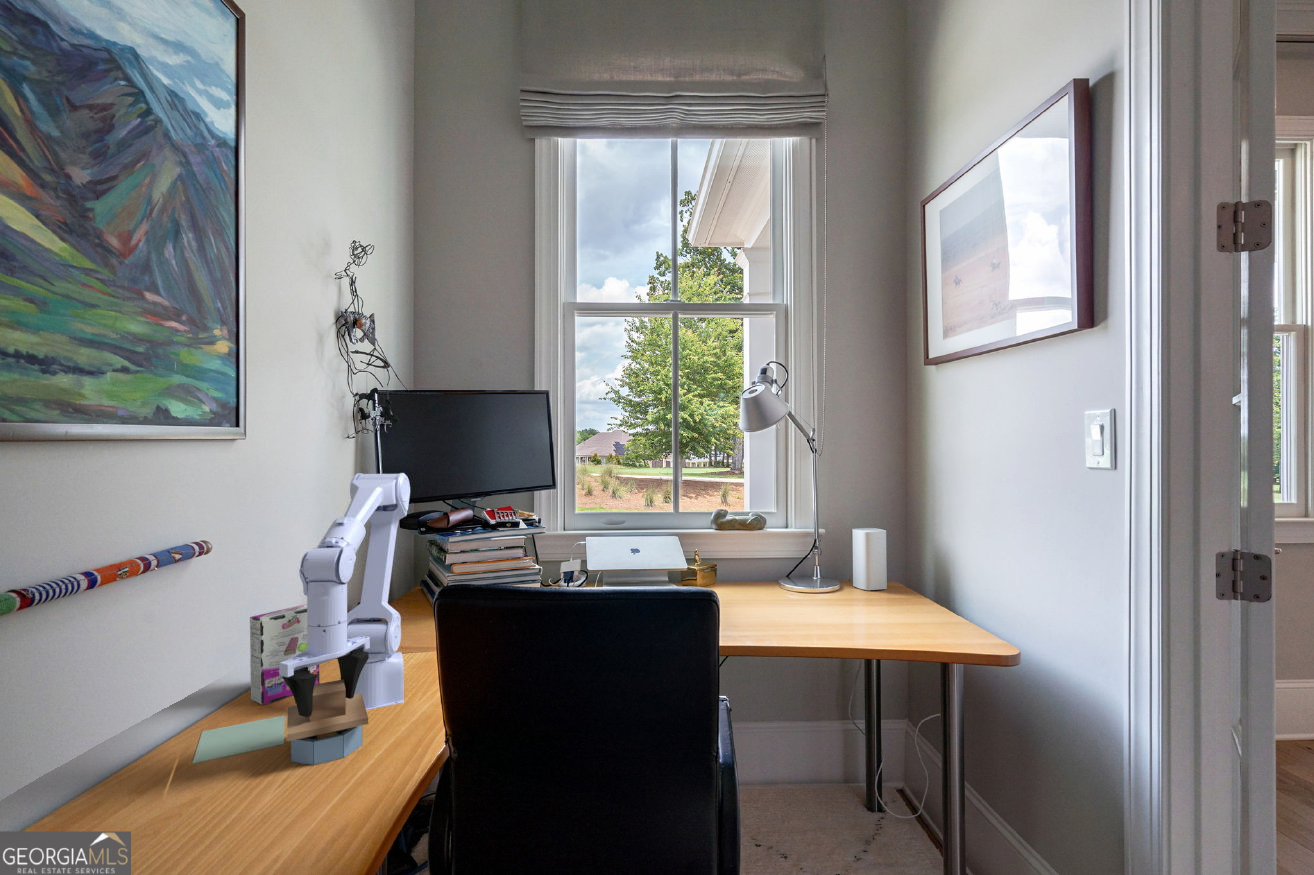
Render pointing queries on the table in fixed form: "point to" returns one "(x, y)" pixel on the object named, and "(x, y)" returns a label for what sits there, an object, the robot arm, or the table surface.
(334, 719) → the lid
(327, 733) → the orange ball
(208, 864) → the table surface
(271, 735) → the mat
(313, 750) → the bowl
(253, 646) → the candy bar box
